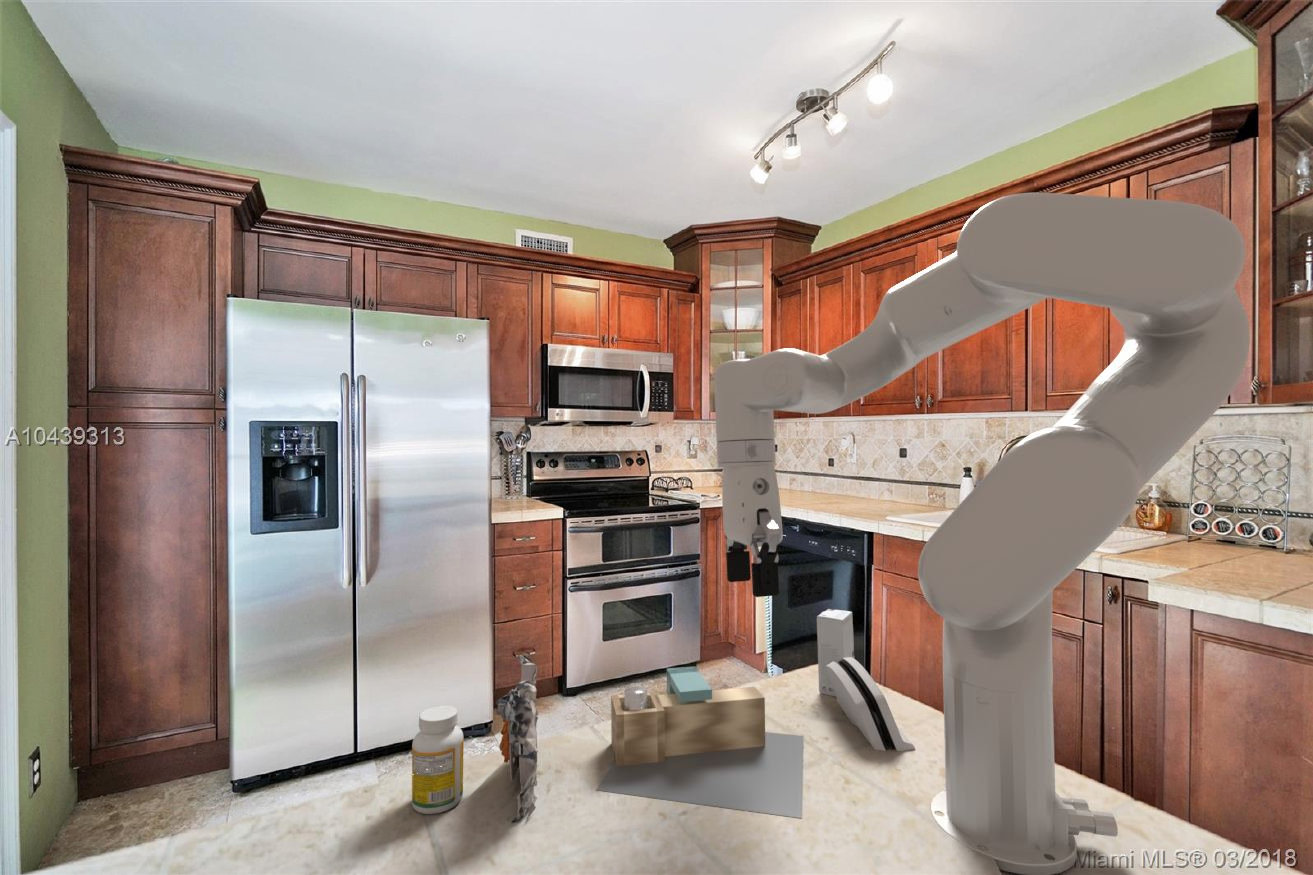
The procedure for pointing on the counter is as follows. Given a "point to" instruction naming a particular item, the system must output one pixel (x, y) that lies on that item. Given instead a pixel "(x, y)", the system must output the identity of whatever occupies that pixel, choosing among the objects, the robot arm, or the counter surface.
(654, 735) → the wooden block with hole
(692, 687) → the bracket
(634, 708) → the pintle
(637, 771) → the plate
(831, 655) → the skincare box
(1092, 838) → the counter surface
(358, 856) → the counter surface
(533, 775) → the meal
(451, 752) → the supplement bottle
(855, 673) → the white slotted curved device
